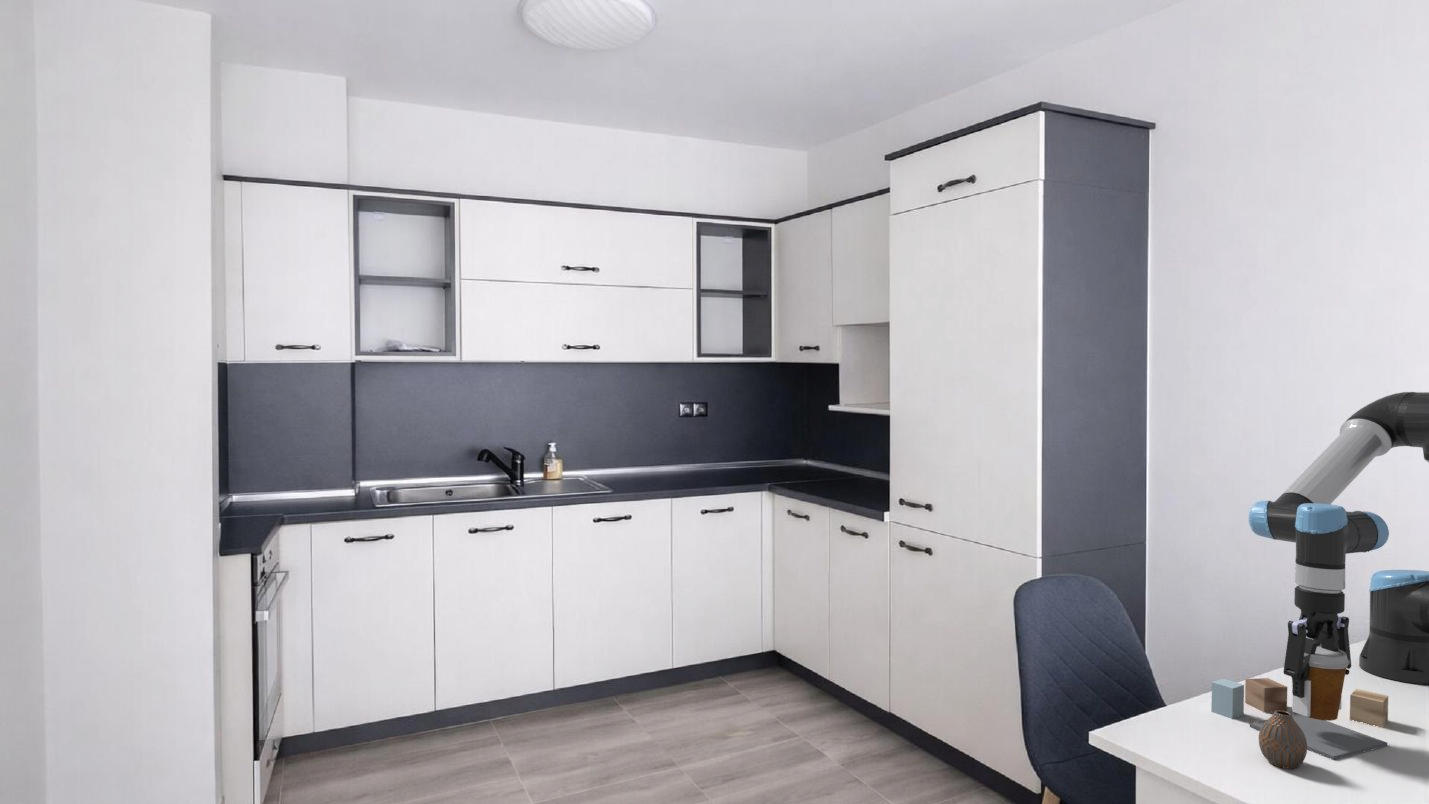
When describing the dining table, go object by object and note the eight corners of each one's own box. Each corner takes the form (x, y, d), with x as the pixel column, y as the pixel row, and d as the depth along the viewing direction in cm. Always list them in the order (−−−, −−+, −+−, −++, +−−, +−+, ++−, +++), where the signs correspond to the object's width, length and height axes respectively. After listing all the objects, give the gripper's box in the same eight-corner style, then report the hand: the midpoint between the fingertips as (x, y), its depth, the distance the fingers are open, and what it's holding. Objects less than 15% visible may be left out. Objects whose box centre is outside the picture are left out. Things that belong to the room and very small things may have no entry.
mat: (1301, 715, 164) (1301, 712, 164) (1387, 745, 150) (1387, 742, 150) (1249, 726, 159) (1249, 723, 159) (1333, 759, 145) (1333, 756, 145)
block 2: (1267, 702, 171) (1267, 678, 171) (1286, 711, 166) (1287, 686, 166) (1245, 703, 171) (1245, 679, 171) (1264, 712, 166) (1264, 687, 166)
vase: (1316, 769, 141) (1317, 718, 141) (1285, 774, 139) (1286, 723, 139) (1278, 752, 148) (1279, 703, 148) (1248, 757, 146) (1249, 707, 146)
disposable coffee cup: (1335, 728, 148) (1337, 661, 148) (1275, 711, 156) (1277, 647, 156) (1357, 717, 153) (1358, 652, 153) (1298, 700, 161) (1299, 638, 161)
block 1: (1243, 715, 165) (1222, 708, 168) (1244, 684, 164) (1223, 678, 168) (1232, 719, 163) (1211, 712, 166) (1232, 688, 162) (1211, 682, 166)
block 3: (1355, 713, 165) (1356, 688, 165) (1387, 721, 162) (1388, 695, 162) (1349, 720, 162) (1350, 694, 162) (1382, 728, 158) (1382, 702, 158)
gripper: (1334, 579, 161) (1332, 695, 162) (1260, 588, 154) (1258, 711, 154) (1377, 587, 154) (1374, 709, 155) (1302, 598, 147) (1300, 726, 147)
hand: (1316, 710), depth 154 cm, fingers closed on disposable coffee cup, 8 cm apart
